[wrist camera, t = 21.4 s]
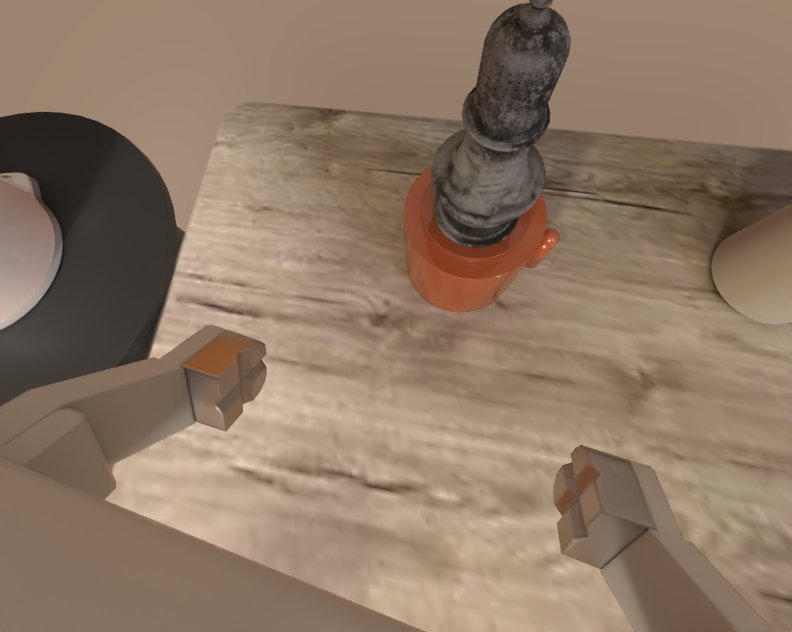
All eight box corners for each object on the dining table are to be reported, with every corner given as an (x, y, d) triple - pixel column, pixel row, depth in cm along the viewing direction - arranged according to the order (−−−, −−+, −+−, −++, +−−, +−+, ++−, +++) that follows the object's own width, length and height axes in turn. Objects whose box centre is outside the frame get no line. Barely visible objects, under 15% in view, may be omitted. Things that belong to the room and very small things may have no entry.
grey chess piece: (458, 269, 21) (513, 100, 9) (411, 193, 22) (406, -39, 10) (543, 224, 21) (700, 7, 9) (492, 152, 22) (573, -116, 11)
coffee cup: (399, 304, 29) (392, 265, 21) (415, 208, 31) (414, 139, 23) (526, 322, 28) (572, 289, 20) (534, 222, 30) (579, 155, 22)
